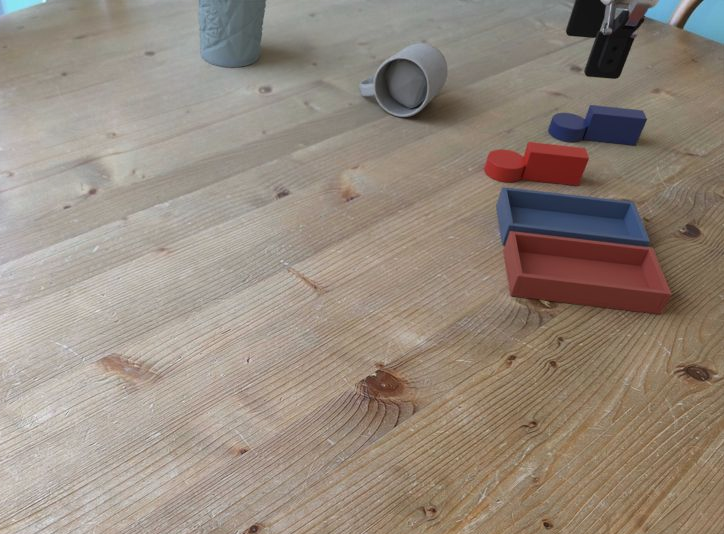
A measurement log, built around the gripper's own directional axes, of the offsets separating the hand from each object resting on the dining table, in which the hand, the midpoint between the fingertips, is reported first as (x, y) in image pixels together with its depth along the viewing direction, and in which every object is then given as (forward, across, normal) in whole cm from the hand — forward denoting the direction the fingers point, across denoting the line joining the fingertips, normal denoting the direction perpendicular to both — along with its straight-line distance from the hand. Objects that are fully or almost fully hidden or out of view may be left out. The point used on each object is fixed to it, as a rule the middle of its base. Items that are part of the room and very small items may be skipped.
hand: (590, 55), depth 74 cm
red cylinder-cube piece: (+16, +4, 0) cm, 16 cm away
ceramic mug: (+16, +19, +16) cm, 30 cm away
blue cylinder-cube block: (+16, +15, -9) cm, 24 cm away
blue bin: (+16, -7, -1) cm, 18 cm away
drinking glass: (+16, +30, +40) cm, 52 cm away
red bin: (+16, -16, -1) cm, 22 cm away
